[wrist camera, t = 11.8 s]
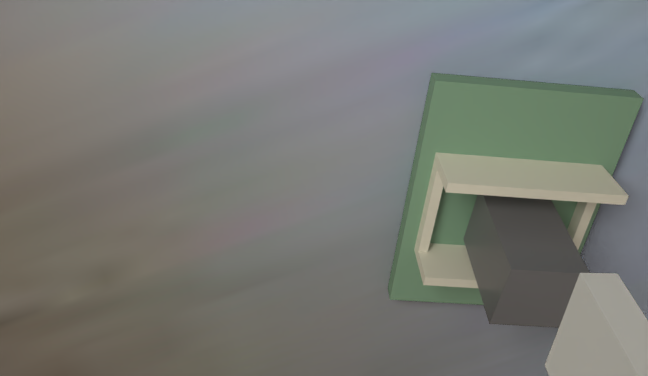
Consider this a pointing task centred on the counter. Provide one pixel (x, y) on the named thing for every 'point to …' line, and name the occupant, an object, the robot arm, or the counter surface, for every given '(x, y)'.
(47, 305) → the counter surface
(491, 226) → the plug
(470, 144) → the board
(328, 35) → the counter surface
